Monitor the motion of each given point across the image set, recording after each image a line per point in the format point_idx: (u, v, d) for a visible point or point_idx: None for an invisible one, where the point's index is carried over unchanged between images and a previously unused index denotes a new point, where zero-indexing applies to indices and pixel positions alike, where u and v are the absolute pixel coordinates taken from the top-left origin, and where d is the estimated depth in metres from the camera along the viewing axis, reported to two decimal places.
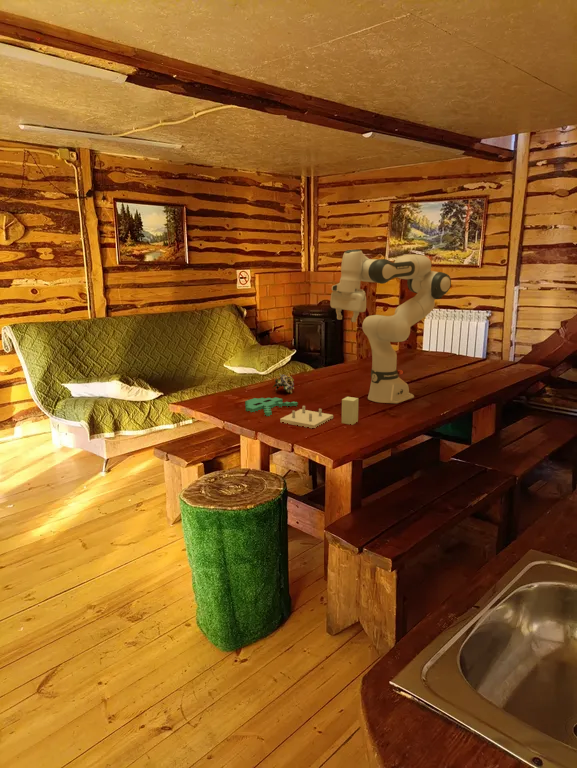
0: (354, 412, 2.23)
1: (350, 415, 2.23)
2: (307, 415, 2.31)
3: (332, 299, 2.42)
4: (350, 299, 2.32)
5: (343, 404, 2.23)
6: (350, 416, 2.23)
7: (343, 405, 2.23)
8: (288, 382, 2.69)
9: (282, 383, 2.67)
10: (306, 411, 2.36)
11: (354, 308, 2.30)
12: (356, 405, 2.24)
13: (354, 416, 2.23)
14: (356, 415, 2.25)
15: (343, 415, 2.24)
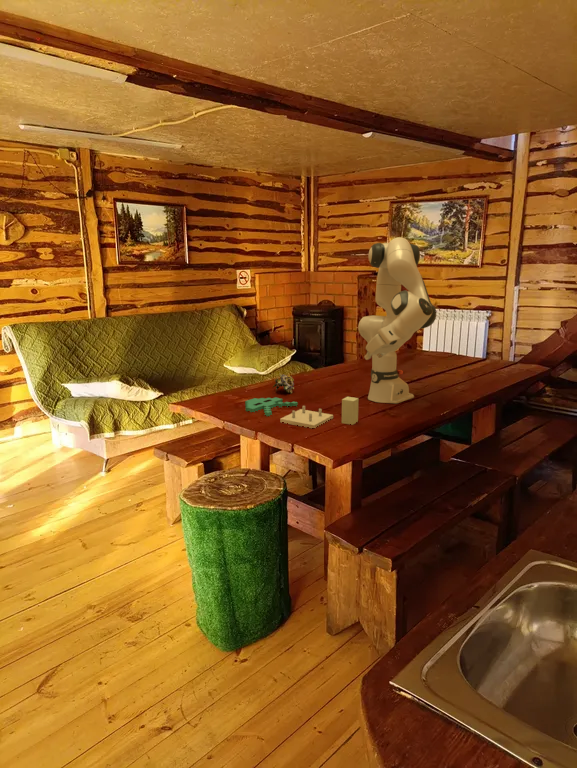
0: (354, 412, 2.23)
1: (350, 415, 2.23)
2: (307, 415, 2.31)
3: None
4: None
5: (343, 404, 2.23)
6: (350, 416, 2.23)
7: (343, 405, 2.23)
8: (288, 382, 2.69)
9: (282, 383, 2.67)
10: (306, 411, 2.36)
11: (393, 350, 2.15)
12: (356, 405, 2.24)
13: (354, 416, 2.23)
14: (356, 415, 2.25)
15: (343, 415, 2.24)
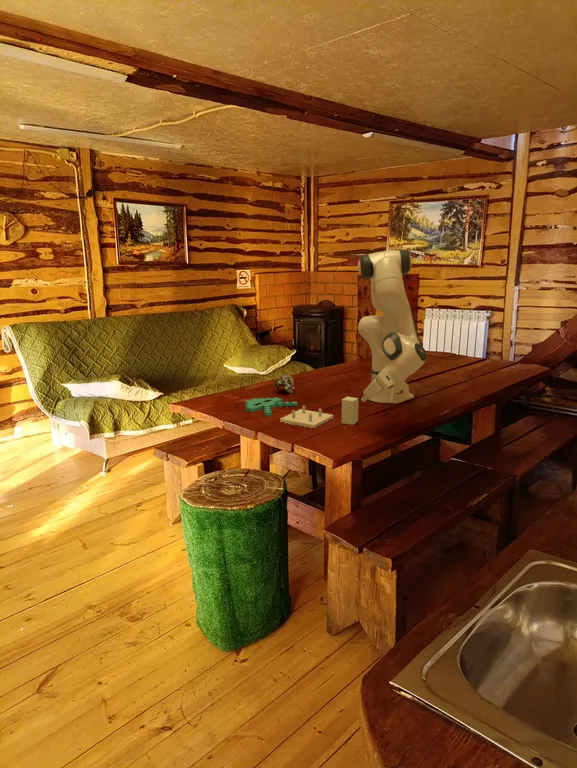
0: (354, 412, 2.23)
1: (350, 415, 2.23)
2: (307, 415, 2.31)
3: None
4: None
5: (343, 404, 2.23)
6: (350, 416, 2.23)
7: (343, 405, 2.23)
8: (288, 382, 2.69)
9: (282, 383, 2.67)
10: (306, 411, 2.36)
11: None
12: (356, 405, 2.24)
13: (354, 416, 2.23)
14: (356, 415, 2.25)
15: (343, 415, 2.24)
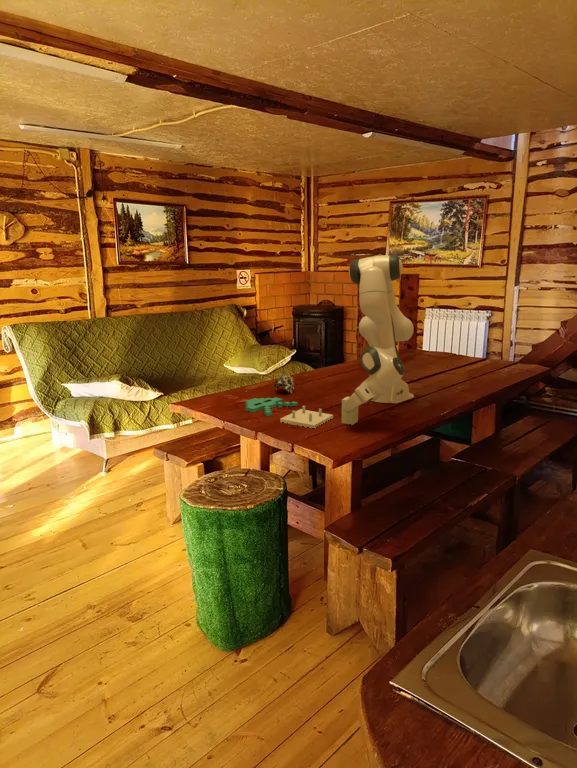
0: (354, 412, 2.23)
1: (350, 415, 2.23)
2: (307, 415, 2.31)
3: None
4: None
5: (343, 404, 2.23)
6: (350, 416, 2.23)
7: (343, 405, 2.23)
8: (288, 382, 2.69)
9: (282, 383, 2.67)
10: (306, 411, 2.36)
11: None
12: None
13: (354, 416, 2.23)
14: (356, 415, 2.25)
15: (343, 415, 2.24)
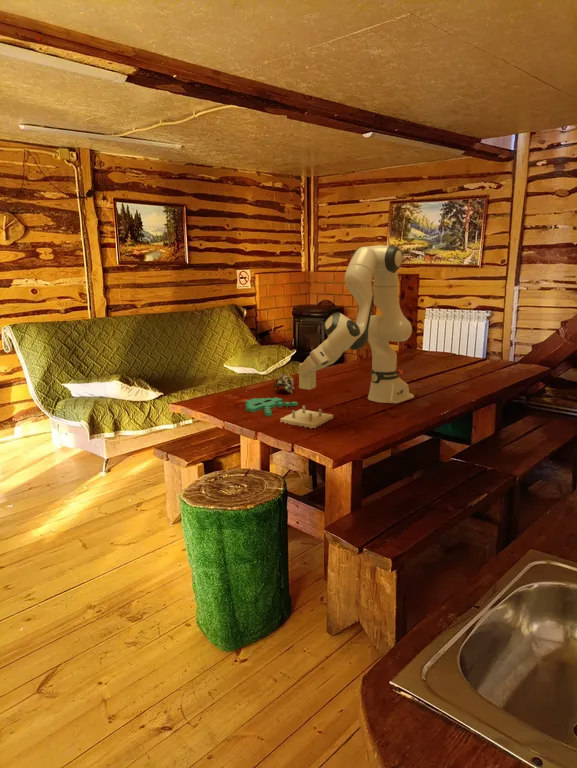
0: (311, 377, 2.22)
1: (307, 380, 2.22)
2: (307, 415, 2.31)
3: (311, 369, 2.13)
4: None
5: None
6: (307, 381, 2.22)
7: None
8: (288, 382, 2.69)
9: (282, 383, 2.67)
10: (306, 411, 2.36)
11: (325, 366, 2.26)
12: None
13: (311, 381, 2.22)
14: (314, 380, 2.24)
15: (300, 380, 2.24)
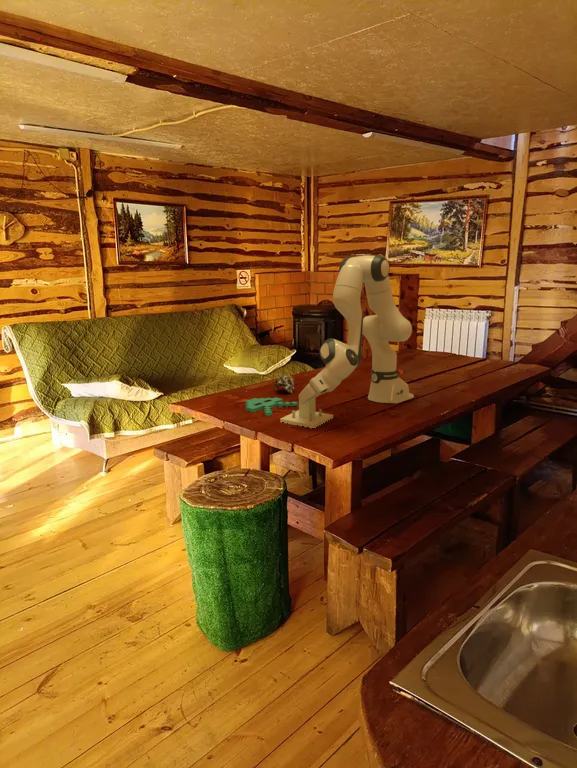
0: (311, 407, 2.26)
1: (307, 410, 2.25)
2: None
3: None
4: None
5: (300, 399, 2.26)
6: (307, 411, 2.25)
7: None
8: (288, 382, 2.69)
9: (282, 383, 2.67)
10: None
11: None
12: (313, 400, 2.27)
13: (310, 411, 2.26)
14: (313, 410, 2.28)
15: (300, 410, 2.27)
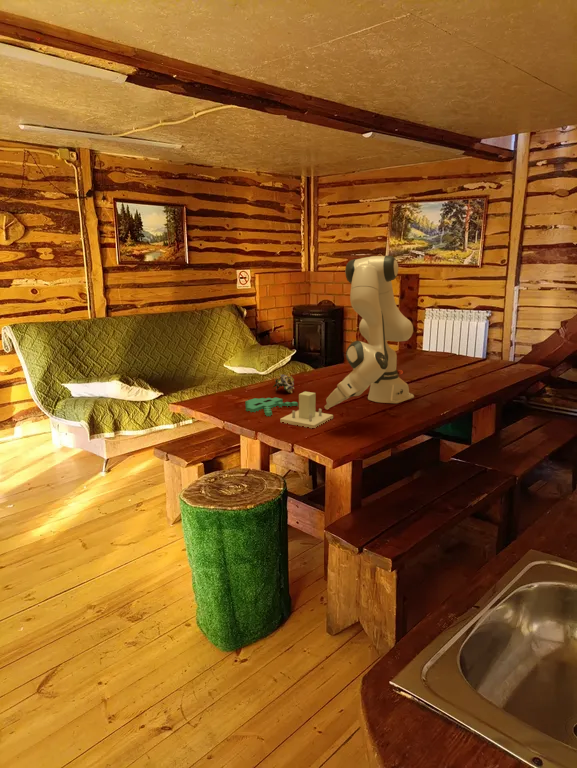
0: (311, 407, 2.26)
1: (307, 410, 2.25)
2: None
3: None
4: None
5: (300, 399, 2.26)
6: (307, 411, 2.25)
7: (300, 400, 2.26)
8: (288, 382, 2.69)
9: (282, 383, 2.67)
10: None
11: None
12: (313, 400, 2.27)
13: (310, 411, 2.26)
14: (313, 410, 2.28)
15: (300, 410, 2.27)
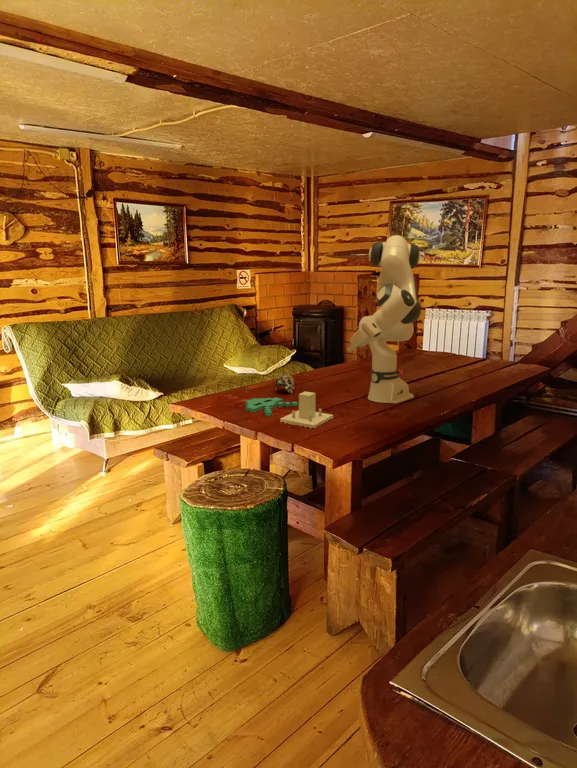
0: (311, 407, 2.26)
1: (307, 410, 2.25)
2: None
3: None
4: None
5: (300, 399, 2.26)
6: (307, 411, 2.25)
7: (300, 400, 2.26)
8: (288, 382, 2.69)
9: (282, 383, 2.67)
10: None
11: (374, 339, 2.17)
12: (313, 400, 2.27)
13: (310, 411, 2.26)
14: (313, 410, 2.28)
15: (300, 410, 2.27)
